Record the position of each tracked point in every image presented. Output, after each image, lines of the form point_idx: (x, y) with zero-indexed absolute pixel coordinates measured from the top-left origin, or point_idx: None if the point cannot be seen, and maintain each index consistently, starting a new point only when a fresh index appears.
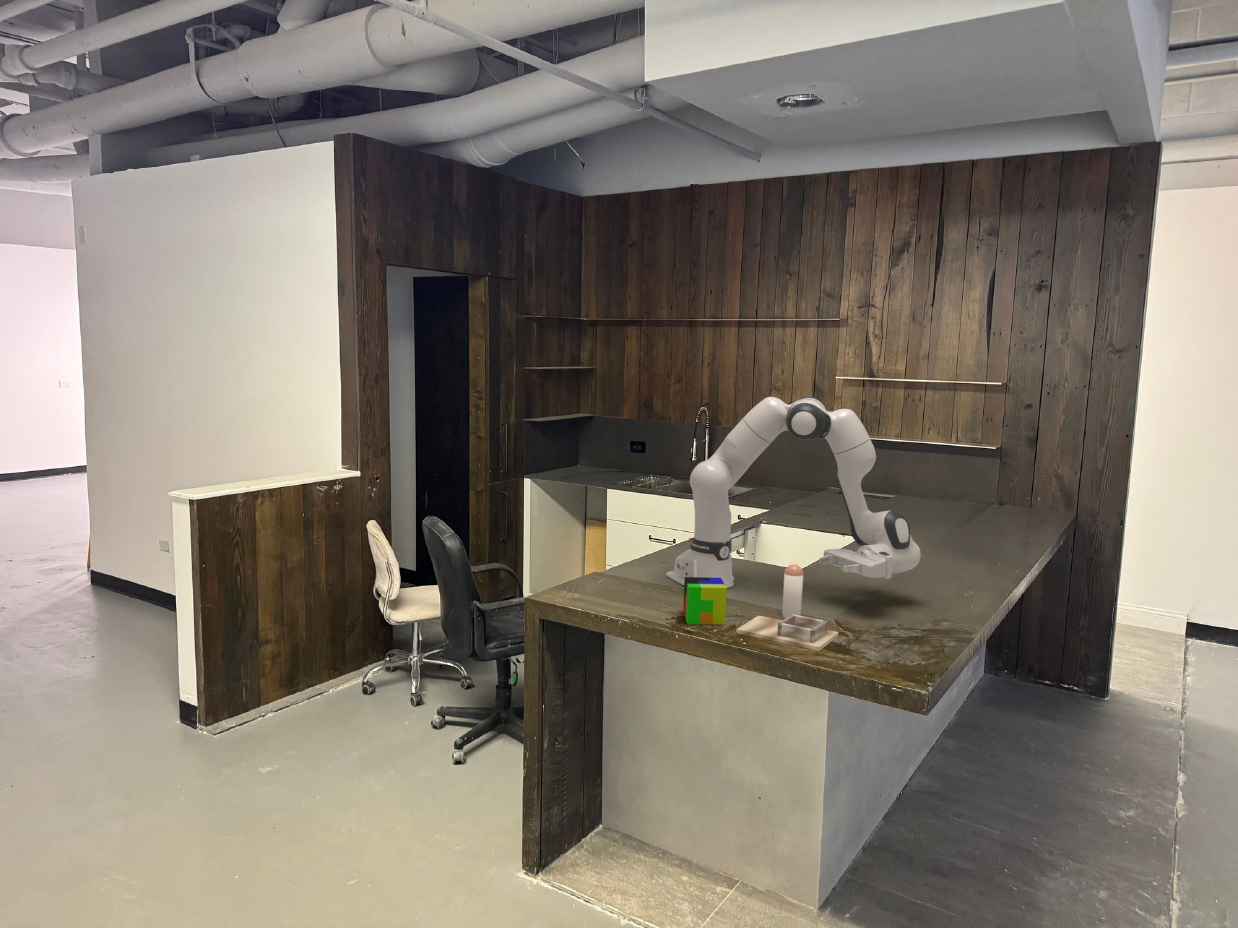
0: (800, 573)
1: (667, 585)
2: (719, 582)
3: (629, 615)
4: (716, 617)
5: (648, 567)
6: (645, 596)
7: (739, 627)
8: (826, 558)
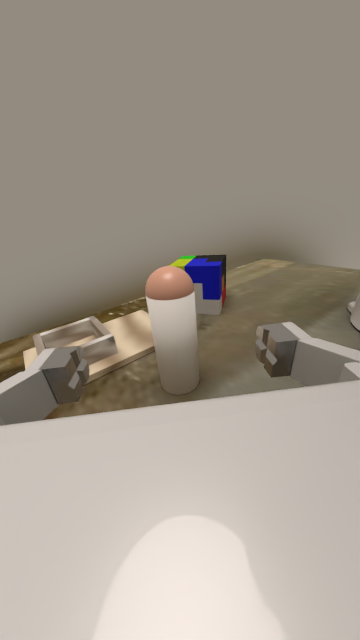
0: (145, 289)
1: (352, 297)
2: (195, 264)
3: None
4: None
5: None
6: (285, 285)
7: (144, 312)
8: (271, 338)
